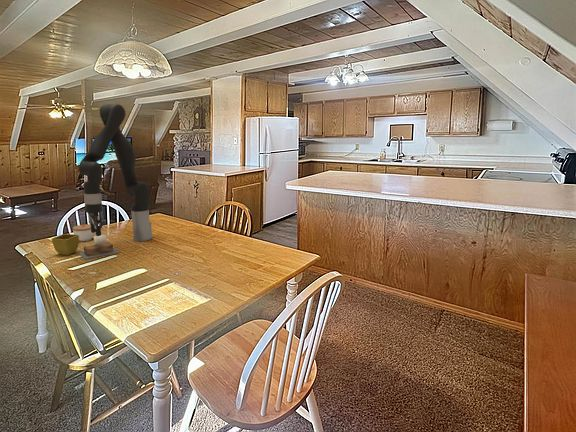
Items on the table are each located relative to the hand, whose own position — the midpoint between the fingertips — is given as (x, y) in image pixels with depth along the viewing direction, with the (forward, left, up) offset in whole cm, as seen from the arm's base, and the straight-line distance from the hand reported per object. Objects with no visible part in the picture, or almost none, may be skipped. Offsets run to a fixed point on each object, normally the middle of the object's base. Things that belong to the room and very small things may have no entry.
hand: (96, 234), depth 186 cm
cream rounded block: (-4, -11, -10) cm, 16 cm away
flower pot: (+12, -10, -10) cm, 19 cm away
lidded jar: (-1, -30, -10) cm, 32 cm away
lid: (0, 0, -10) cm, 10 cm away
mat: (0, 0, -10) cm, 10 cm away
